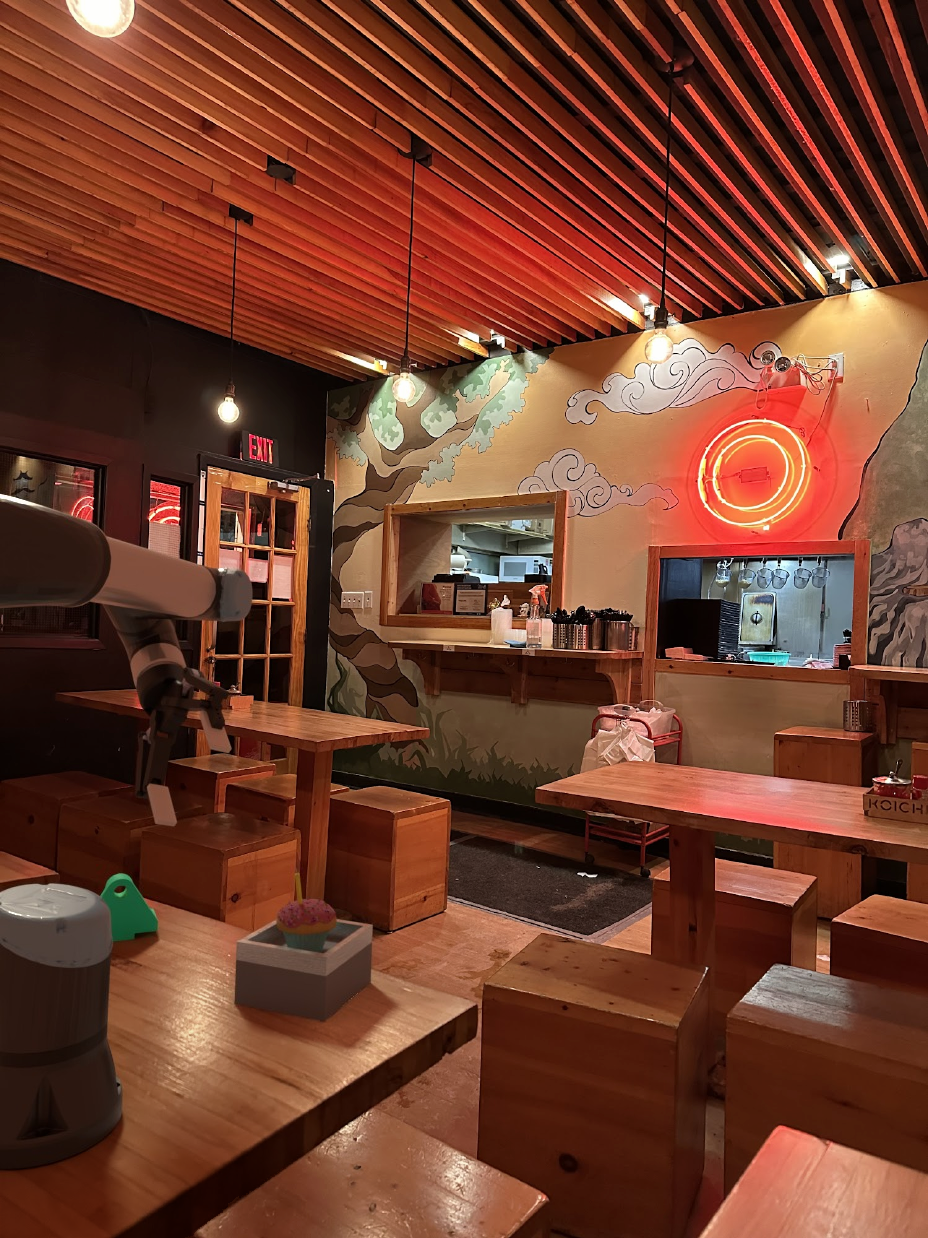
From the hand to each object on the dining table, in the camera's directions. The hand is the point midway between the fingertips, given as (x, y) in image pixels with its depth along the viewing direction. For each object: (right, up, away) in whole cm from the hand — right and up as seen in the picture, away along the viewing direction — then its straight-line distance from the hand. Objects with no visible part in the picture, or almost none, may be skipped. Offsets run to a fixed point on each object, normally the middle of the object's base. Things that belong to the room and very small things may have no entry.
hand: (193, 787), depth 109 cm
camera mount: (-24, -32, +34) cm, 52 cm away
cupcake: (+12, -26, +13) cm, 31 cm away
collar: (+12, -26, +12) cm, 31 cm away
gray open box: (+12, -32, +12) cm, 36 cm away
